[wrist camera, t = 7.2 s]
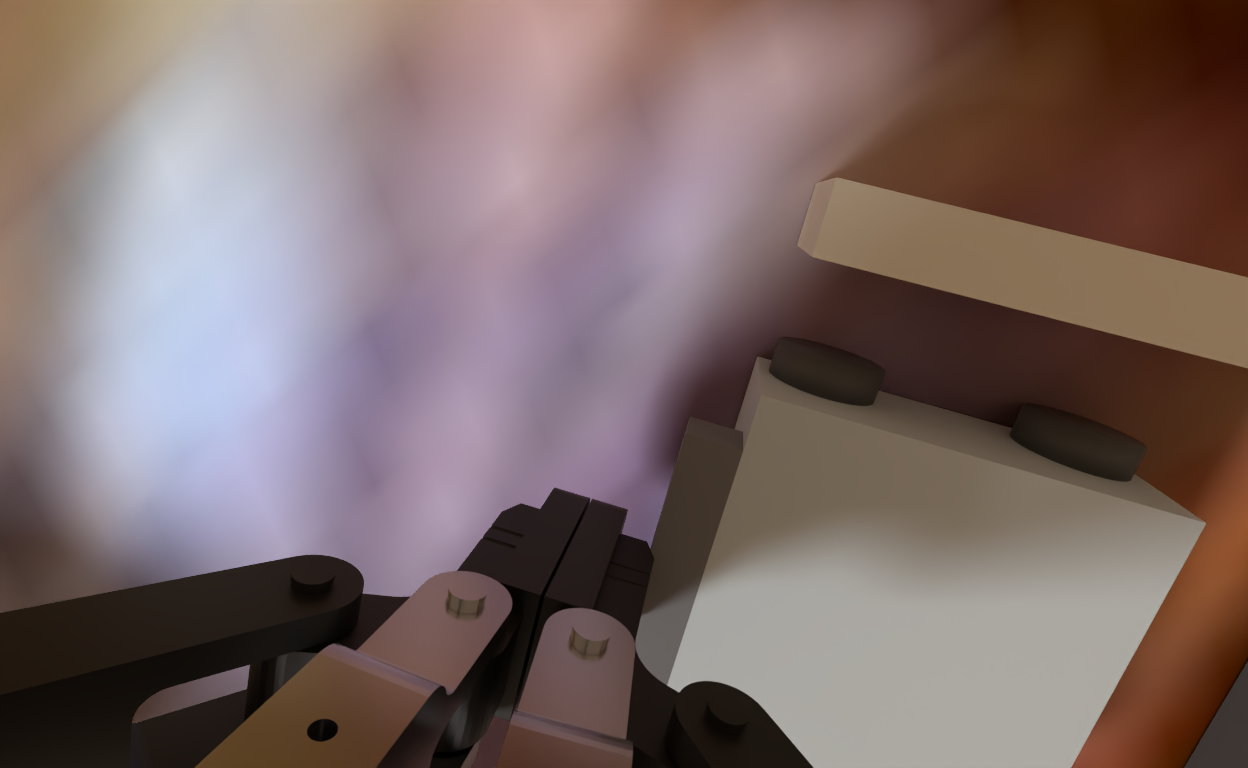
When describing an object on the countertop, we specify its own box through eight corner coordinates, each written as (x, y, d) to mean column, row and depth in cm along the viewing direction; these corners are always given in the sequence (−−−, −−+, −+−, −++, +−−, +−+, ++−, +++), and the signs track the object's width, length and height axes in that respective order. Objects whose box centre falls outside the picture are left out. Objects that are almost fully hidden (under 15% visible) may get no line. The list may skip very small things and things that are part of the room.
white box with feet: (717, 314, 14) (712, 343, 11) (1121, 427, 13) (1225, 488, 10) (610, 680, 17) (582, 780, 14) (942, 791, 16) (986, 920, 13)
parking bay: (816, 182, 13) (836, 177, 10) (1536, 359, 12) (1786, 408, 9) (633, 777, 17) (611, 891, 14) (1155, 952, 16) (1244, 1113, 13)
